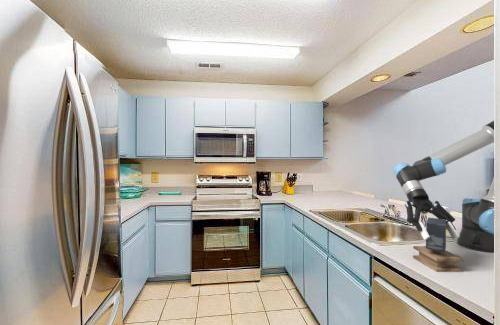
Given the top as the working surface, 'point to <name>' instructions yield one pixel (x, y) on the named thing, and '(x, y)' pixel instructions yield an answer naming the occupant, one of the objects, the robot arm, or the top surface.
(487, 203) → the robot arm
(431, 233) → the small box
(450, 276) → the top surface
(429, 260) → the stand
